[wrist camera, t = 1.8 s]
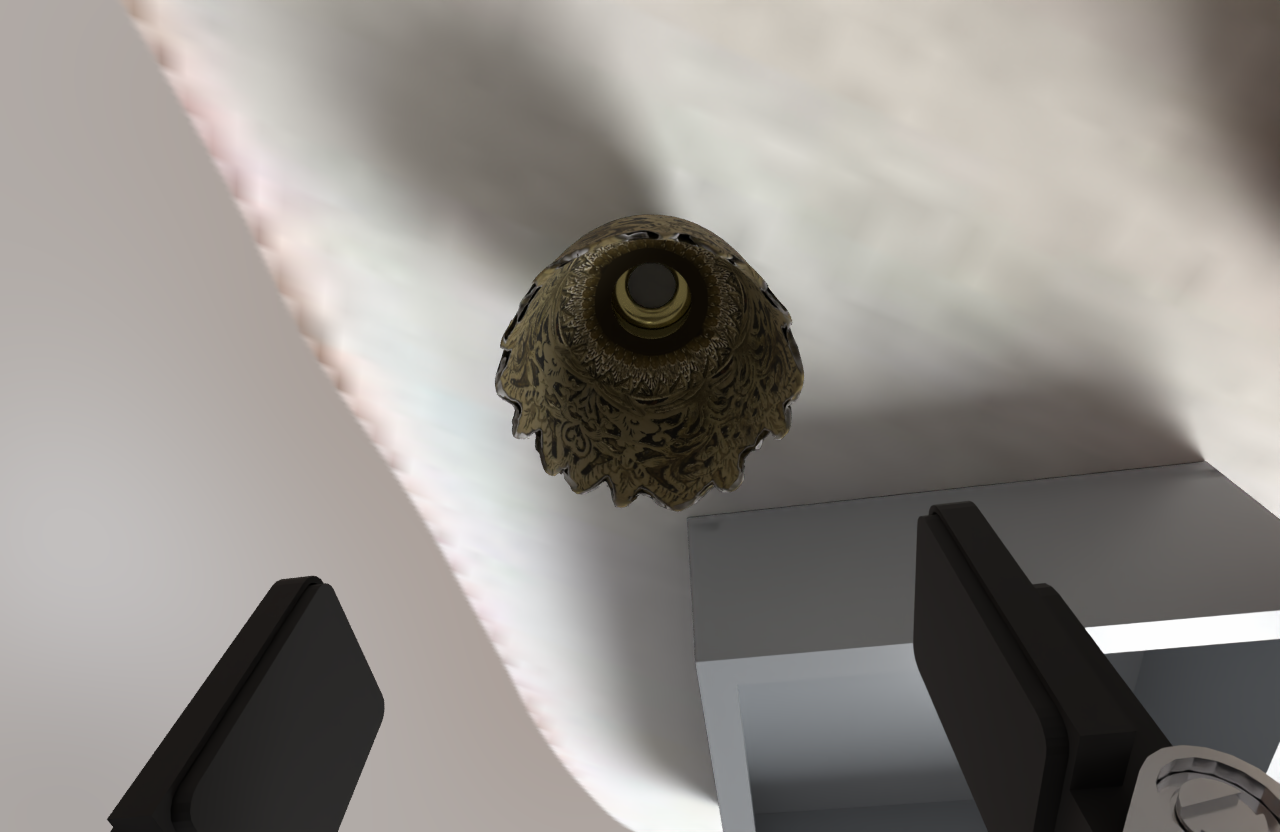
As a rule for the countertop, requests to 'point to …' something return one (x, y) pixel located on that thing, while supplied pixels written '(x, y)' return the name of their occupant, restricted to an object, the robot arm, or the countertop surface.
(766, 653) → the crate
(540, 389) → the brown patterned lamp shade
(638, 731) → the countertop surface
